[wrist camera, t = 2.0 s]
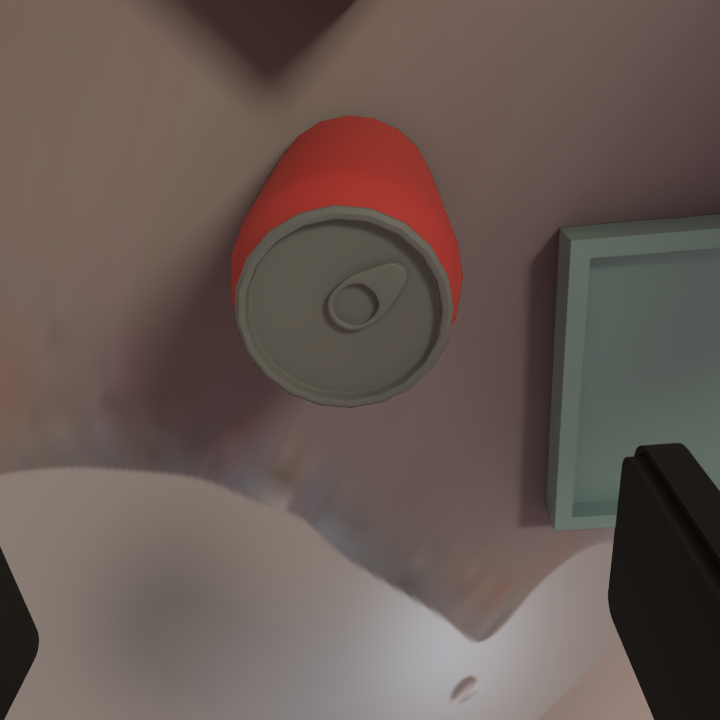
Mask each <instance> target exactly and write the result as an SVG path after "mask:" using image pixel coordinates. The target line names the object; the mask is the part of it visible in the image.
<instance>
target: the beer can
mask: <svg viewBox="0 0 720 720" xmlns="http://www.w3.org/2000/svg"><path fill="white" fill-rule="evenodd" d="M462 280H463V274H462V267H461V261H460V255H459V249H458V243H457V240H456V237H455V235H454V232H453V230H452V227H451V224H450V222H449V219H448V217H447V214H446V211H445V209H444V206H443V203H442V201H441V198H440V196H439V193H438V190H437V188H436V185H435V183H434V180H433V177H432V175H431V172H430V170H429V168H428V166H427V164H426V163H425V161H424V159H423V157H422V155H421V153H420V151H419V150H418V148H417V147H416V146H415V145H414V144H413V143H412V142H411V141H410V140H409V139H408V138H407V137H405V136H404V135H403V134H402V133H401V132H400V131H399V130H398V129H396V128H394V127H391V126H389V125H387V124H385V123H383V122H380V121H378V120H376V119H374V118H364V117H354V116H343V117H339V118H335V119H331V120H327V121H322V122H320V123H318V124H316V125H315V126H313V127H312V128H310V129H309V130H307V131H305V132H304V133H302V134H301V135H299V136H298V137H297V138H296V139H295V140H294V142H293V143H292V144H291V145H290V147H289V148H288V149H287V150H286V152H285V153H284V154H283V155H282V157H281V158H280V160H279V162H278V163H277V165H276V167H275V168H274V170H273V172H272V174H271V175H270V177H269V179H268V180H267V182H266V184H265V186H264V187H263V189H262V191H261V192H260V194H259V196H258V197H257V199H256V201H255V203H254V204H253V206H252V208H251V209H250V211H249V213H248V215H247V216H246V218H245V220H244V221H243V223H242V226H241V229H240V232H239V235H238V238H237V240H236V243H235V246H234V249H233V252H232V254H231V297H232V302H233V305H234V308H235V322H236V325H237V327H238V330H239V333H240V336H241V339H242V342H243V345H244V348H245V351H246V352H247V353H248V355H249V356H250V357H251V359H252V360H253V361H254V363H255V364H256V365H257V366H258V368H259V369H260V370H261V372H262V373H263V374H264V376H266V377H267V378H268V379H270V380H271V381H273V382H274V383H275V384H277V385H278V386H279V387H281V388H282V389H283V390H285V391H286V392H288V393H289V394H291V395H293V396H296V397H299V398H302V399H304V400H307V401H310V402H312V403H315V404H318V405H324V406H336V407H348V408H353V407H359V406H364V405H369V404H375V403H380V402H384V401H386V400H388V399H390V398H392V397H394V396H396V395H398V394H400V393H402V392H404V391H406V390H408V389H410V388H411V387H412V386H413V385H415V384H416V383H417V382H418V381H419V380H420V379H421V378H422V377H423V376H424V375H425V374H426V373H427V372H428V371H429V370H430V369H431V368H433V367H434V365H435V363H436V361H437V359H438V357H439V356H440V354H441V352H442V350H443V348H444V347H445V345H446V343H447V341H448V339H449V333H450V328H451V326H452V324H453V322H454V320H455V317H456V313H457V309H458V303H459V297H460V292H461V286H462Z"/></svg>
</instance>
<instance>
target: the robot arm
mask: <svg viewBox="0 0 720 720" xmlns="http://www.w3.org/2000/svg"><path fill="white" fill-rule="evenodd" d="M608 601H609V608H610V613H611V616H612V619H613V622H614V624H615V627H616V629H617V632H618V634H619V636H620V639H621V641H622V644H623V646H624V648H625V651H626V653H627V656H628V658H629V660H630V663H631V665H632V668H633V670H634V672H635V675H636V677H637V679H638V682H639V684H640V687H641V689H642V691H643V694H644V696H645V699H646V701H647V703H648V706H649V708H650V710H651V713H652V715H653V718H654V720H720V491H719V489H718V488H717V487H716V485H715V484H714V483H713V481H712V480H711V479H710V477H709V476H708V475H707V474H706V472H705V471H704V470H703V468H702V467H701V466H700V464H699V463H698V462H697V460H696V459H695V458H694V456H693V455H692V454H691V452H690V451H689V450H688V449H687V447H686V446H685V445H683V444H682V443H667V444H654V445H641V446H639V447H637V449H636V451H635V454H634V456H632V457H626V458H624V460H623V463H622V470H621V479H620V488H619V497H618V507H617V516H616V525H615V534H614V544H613V553H612V562H611V572H610V581H609V590H608ZM38 645H39V636H38V632H37V629H36V627H35V624H34V622H33V620H32V617H31V615H30V613H29V611H28V608H27V606H26V604H25V602H24V599H23V597H22V595H21V593H20V591H19V588H18V586H17V584H16V582H15V579H14V577H13V575H12V572H11V570H10V568H9V566H8V563H7V561H6V559H5V557H4V554H3V552H2V550H1V548H0V720H4V719H5V716H6V715H7V713H8V711H9V709H10V707H11V705H12V703H13V701H14V699H15V697H16V695H17V693H18V691H19V689H20V687H21V685H22V683H23V681H24V679H25V677H26V675H27V673H28V671H29V669H30V667H31V665H32V663H33V661H34V659H35V657H36V654H37V651H38Z"/></svg>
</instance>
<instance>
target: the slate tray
mask: <svg viewBox="0 0 720 720" xmlns="http://www.w3.org/2000/svg"><path fill="white" fill-rule="evenodd" d="M667 443H682V444H683V445H685V446H686V447H687V449H688V450H689V451H690V452H691V454H692V455H693V456H694V458H695V459H696V460H697V462H698V463H699V464H700V466H701V467H702V468H703V470H704V471H705V472H706V474H707V475H708V476H709V477H710V479H711V480H712V481H713V483H714V484H715V485H716V487H717V488H718V489H719V491H720V214H714V215H702V216H690V217H678V218H666V219H655V220H643V221H631V222H619V223H607V224H596V225H584V226H572V227H560V230H559V250H558V271H557V291H556V312H555V333H554V353H553V374H552V394H551V415H550V435H549V456H548V477H547V497H546V508H547V511H548V514H549V517H550V520H551V522H552V525H553V528H554V531H561V530H577V529H594V528H610V527H615V525H616V516H617V507H618V497H619V488H620V479H621V470H622V463H623V460H624V458H626V457H632V456H634V454H635V451H636V449H637V447H639V446H641V445H654V444H667Z"/></svg>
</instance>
